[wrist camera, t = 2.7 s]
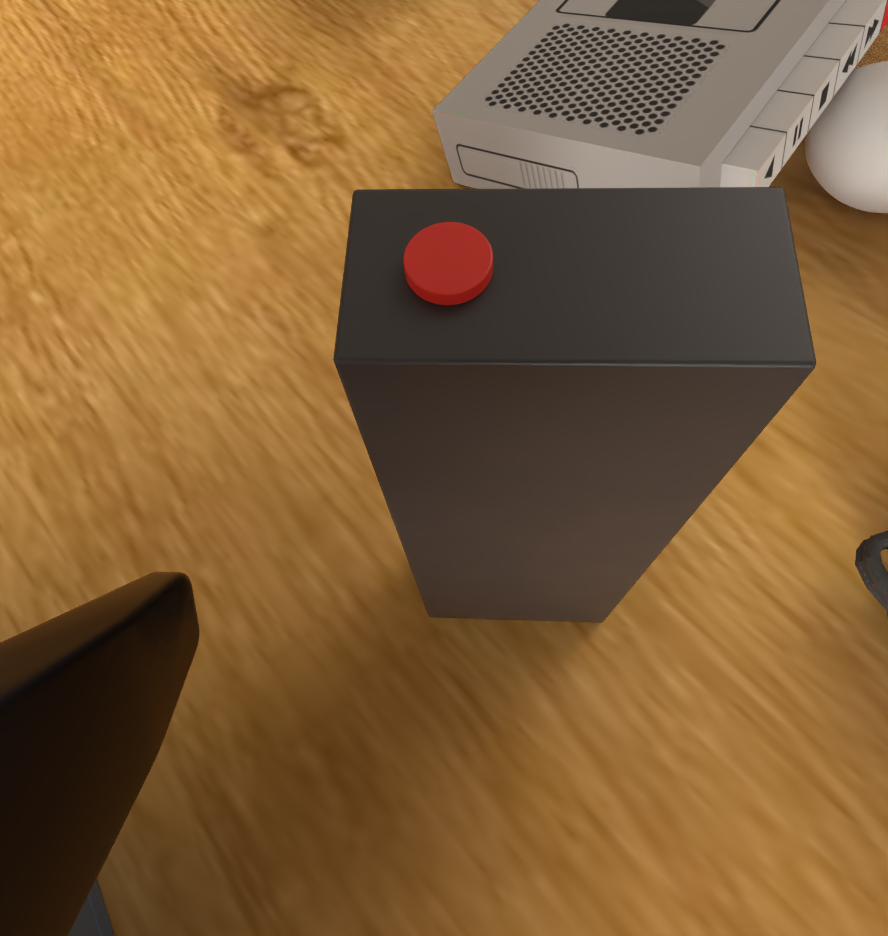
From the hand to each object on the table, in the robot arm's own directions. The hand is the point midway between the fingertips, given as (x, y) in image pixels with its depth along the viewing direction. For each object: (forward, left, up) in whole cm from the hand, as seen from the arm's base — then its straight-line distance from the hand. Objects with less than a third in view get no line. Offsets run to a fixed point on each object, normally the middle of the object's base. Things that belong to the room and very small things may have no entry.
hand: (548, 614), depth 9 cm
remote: (+3, +1, -10) cm, 11 cm away
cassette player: (+22, +8, -9) cm, 25 cm away
